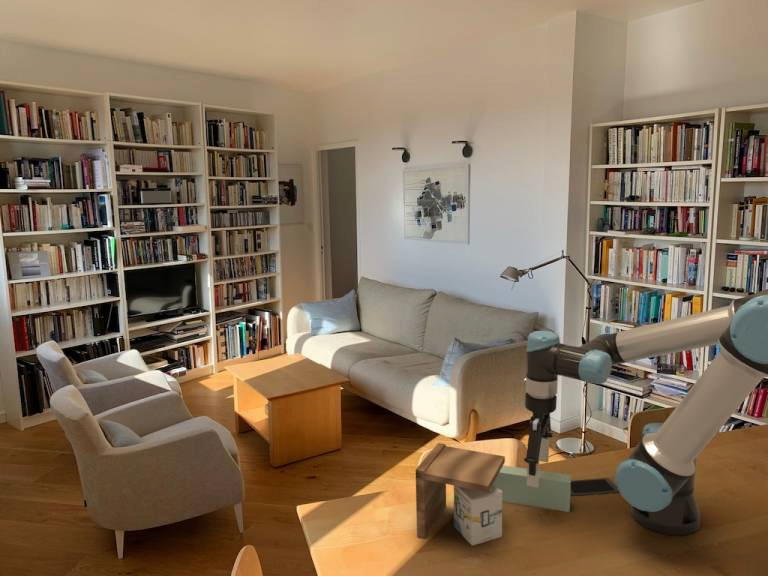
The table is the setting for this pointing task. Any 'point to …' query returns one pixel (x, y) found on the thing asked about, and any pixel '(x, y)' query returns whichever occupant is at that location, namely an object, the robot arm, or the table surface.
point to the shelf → (450, 479)
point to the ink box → (478, 514)
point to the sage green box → (535, 488)
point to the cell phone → (593, 487)
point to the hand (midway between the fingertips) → (537, 472)
